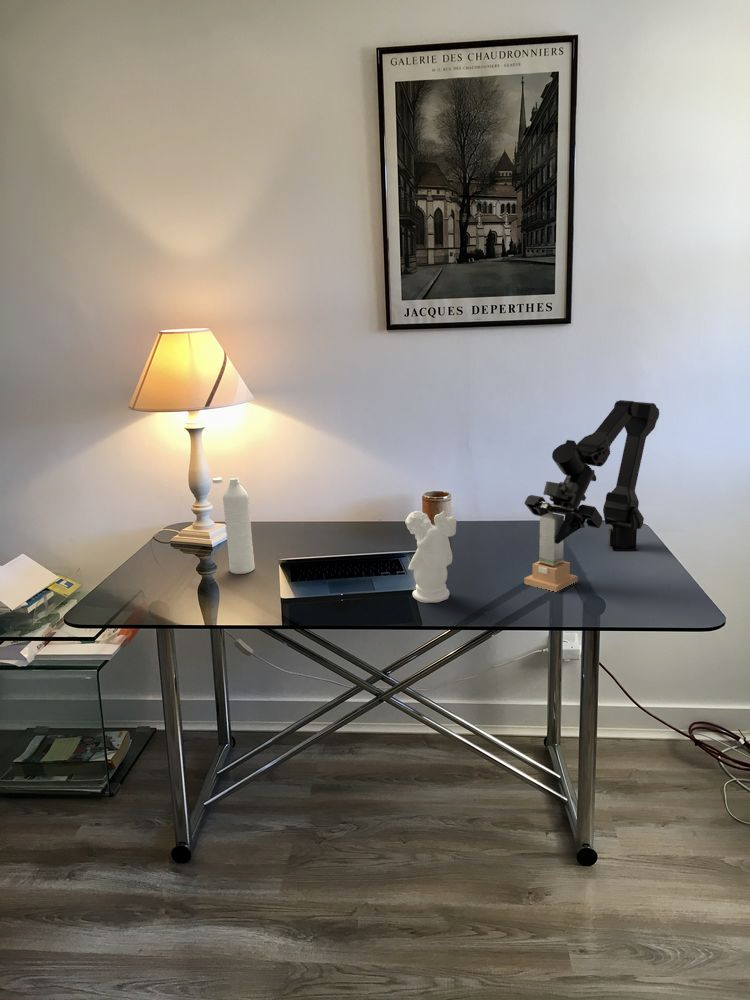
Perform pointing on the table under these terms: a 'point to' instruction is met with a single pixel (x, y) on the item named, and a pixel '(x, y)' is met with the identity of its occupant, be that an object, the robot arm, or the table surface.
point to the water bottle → (238, 527)
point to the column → (550, 539)
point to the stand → (551, 576)
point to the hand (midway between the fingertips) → (548, 541)
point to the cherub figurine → (431, 555)
